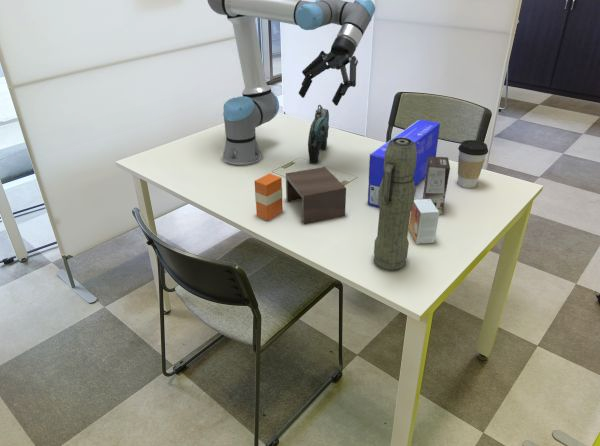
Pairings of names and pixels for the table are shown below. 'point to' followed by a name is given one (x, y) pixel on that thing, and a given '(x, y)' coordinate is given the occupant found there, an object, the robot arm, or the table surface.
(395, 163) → the thermos
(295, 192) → the small wooden table
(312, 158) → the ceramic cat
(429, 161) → the coffee box
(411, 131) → the blue cardboard box
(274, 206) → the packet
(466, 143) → the coffee cup
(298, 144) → the table surface
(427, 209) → the small box
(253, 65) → the robot arm
